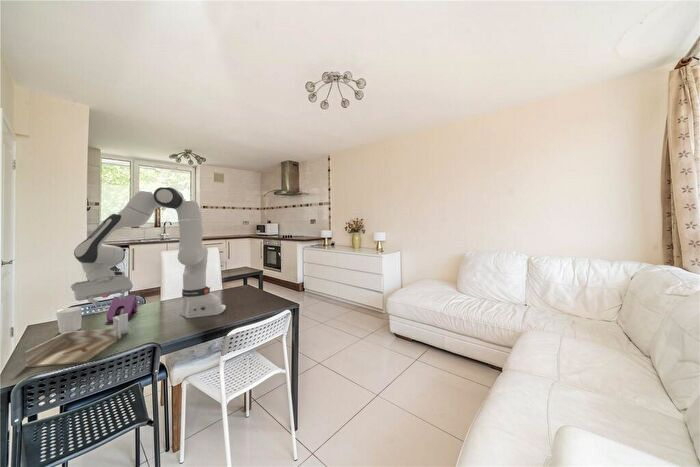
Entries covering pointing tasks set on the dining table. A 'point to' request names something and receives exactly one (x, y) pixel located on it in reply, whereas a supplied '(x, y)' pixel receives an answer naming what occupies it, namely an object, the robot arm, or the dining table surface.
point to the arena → (70, 347)
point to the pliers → (103, 310)
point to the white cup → (69, 319)
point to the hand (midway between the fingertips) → (110, 301)
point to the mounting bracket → (122, 306)
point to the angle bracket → (120, 325)
